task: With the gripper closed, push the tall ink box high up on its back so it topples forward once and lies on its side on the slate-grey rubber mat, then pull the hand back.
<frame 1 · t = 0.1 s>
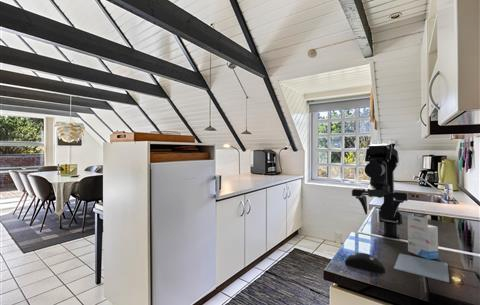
hand: (379, 216, 92), 15 cm above the countertop, fingers open, 9 cm apart
computer mouse: (364, 267, 81), on the countertop
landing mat: (421, 266, 81), on the countertop
ink box: (422, 255, 90), on the countertop, touching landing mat
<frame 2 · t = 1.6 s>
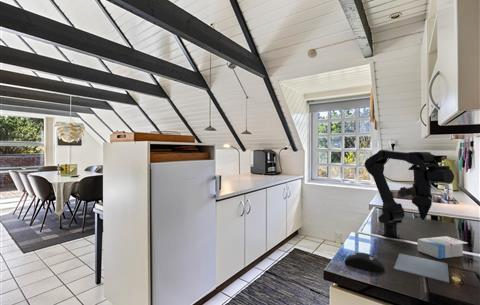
hand: (422, 218, 99), 12 cm above the countertop, fingers open, 5 cm apart
ink box: (427, 248, 91), point 2 cm above the countertop
everything else where it was.
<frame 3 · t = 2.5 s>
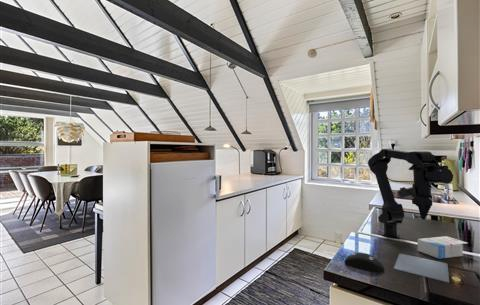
hand: (423, 219, 97), 12 cm above the countertop, fingers closed
nothing on the countertop moved.
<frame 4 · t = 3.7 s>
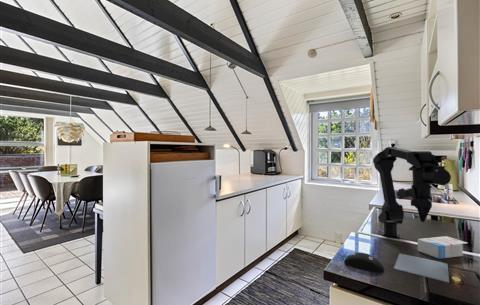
hand: (422, 221, 94), 12 cm above the countertop, fingers closed
nothing on the countertop moved.
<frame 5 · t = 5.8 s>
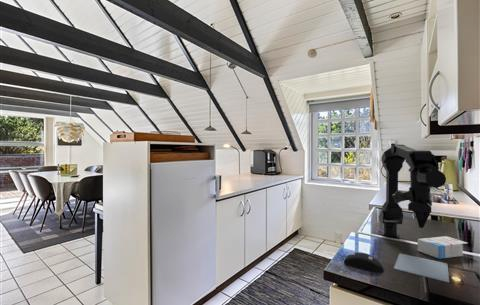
hand: (421, 227, 85), 12 cm above the countertop, fingers closed
nothing on the countertop moved.
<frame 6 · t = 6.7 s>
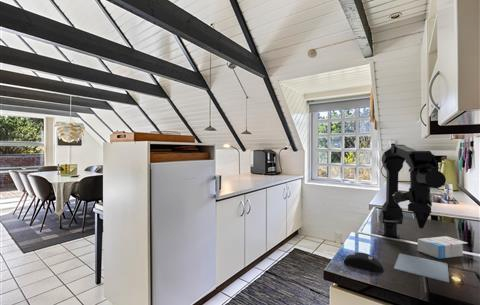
hand: (421, 228, 85), 12 cm above the countertop, fingers closed
nothing on the countertop moved.
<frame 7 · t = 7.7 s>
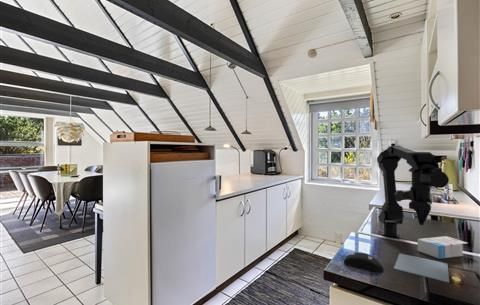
hand: (421, 224, 91), 12 cm above the countertop, fingers closed
nothing on the countertop moved.
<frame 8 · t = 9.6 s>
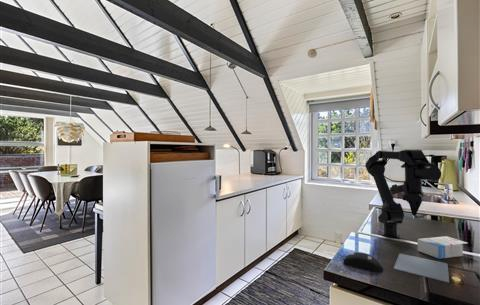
hand: (414, 215, 100), 13 cm above the countertop, fingers closed
nothing on the countertop moved.
at the end: ink box tilted 90°; ink box inside the target area (8.8 cm from its centre), point 2.5 cm above the countertop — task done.
